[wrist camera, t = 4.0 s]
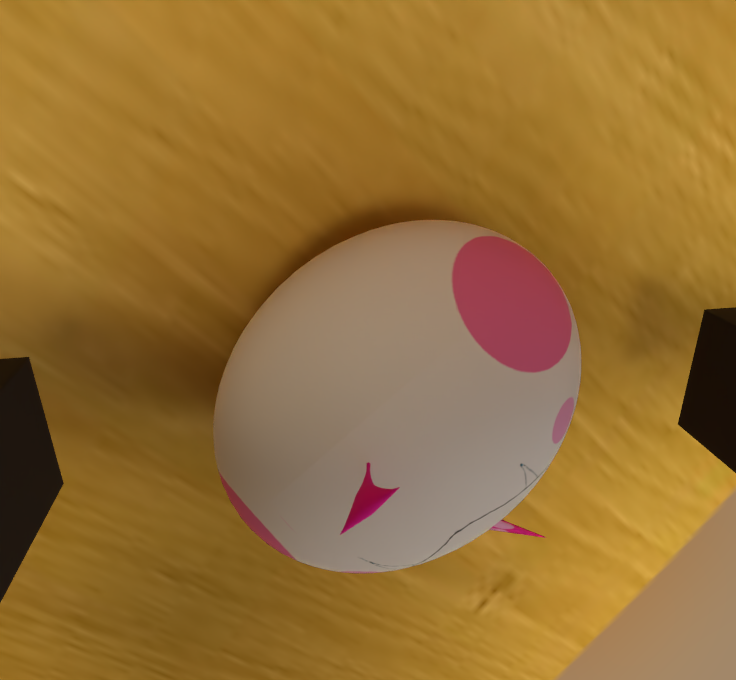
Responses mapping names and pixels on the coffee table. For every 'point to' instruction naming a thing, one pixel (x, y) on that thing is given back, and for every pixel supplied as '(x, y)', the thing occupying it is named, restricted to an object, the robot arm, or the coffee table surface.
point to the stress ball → (397, 397)
